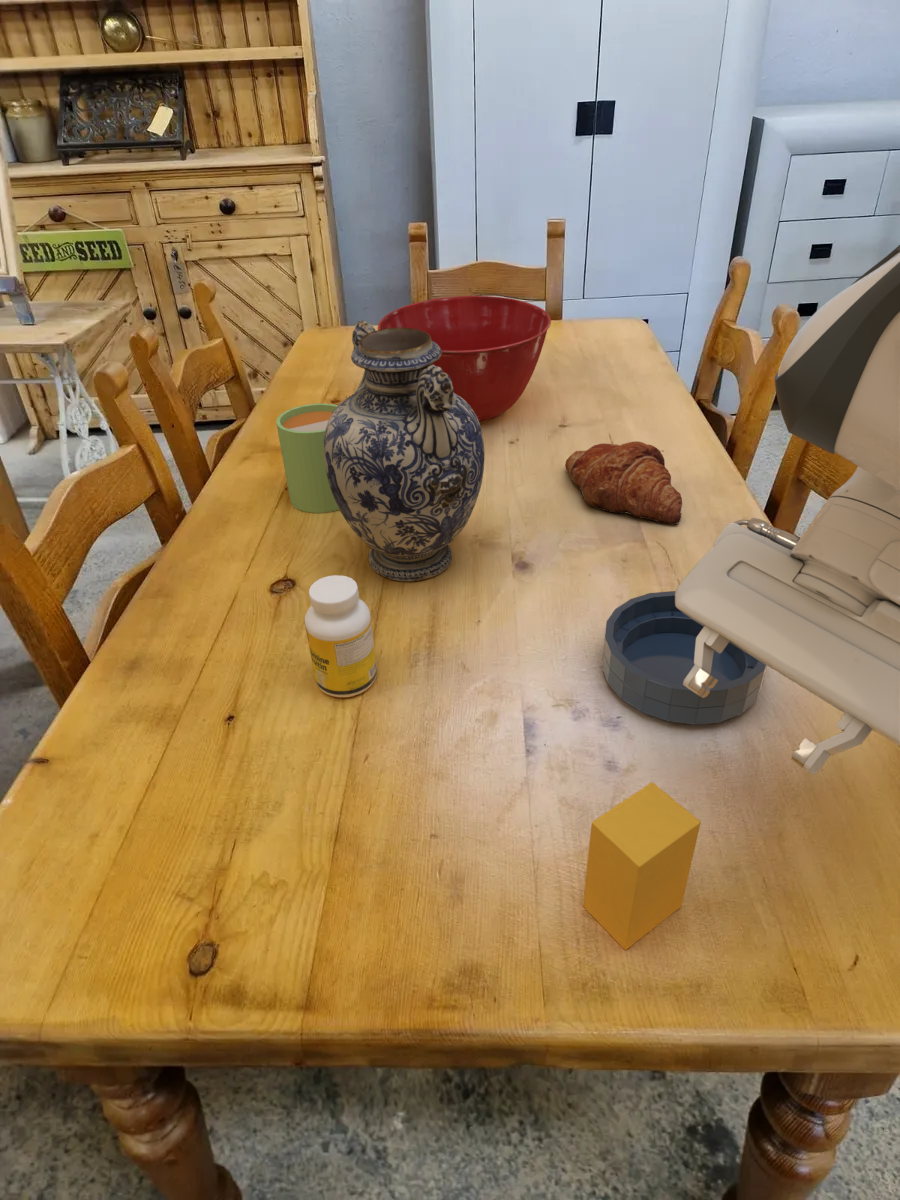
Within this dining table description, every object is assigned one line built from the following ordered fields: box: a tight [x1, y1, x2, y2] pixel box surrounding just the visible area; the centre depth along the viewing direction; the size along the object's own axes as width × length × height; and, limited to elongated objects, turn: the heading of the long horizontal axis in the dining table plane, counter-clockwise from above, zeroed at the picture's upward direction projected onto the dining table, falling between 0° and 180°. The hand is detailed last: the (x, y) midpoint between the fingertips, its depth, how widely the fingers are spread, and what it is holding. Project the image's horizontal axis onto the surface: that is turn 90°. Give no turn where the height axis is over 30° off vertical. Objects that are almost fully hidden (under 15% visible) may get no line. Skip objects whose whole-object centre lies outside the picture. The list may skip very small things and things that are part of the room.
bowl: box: [601, 590, 768, 726], centre depth 79 cm, size 16×16×5 cm
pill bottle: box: [304, 574, 378, 698], centre depth 79 cm, size 6×6×12 cm
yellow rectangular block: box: [582, 781, 702, 951], centre depth 57 cm, size 4×6×10 cm
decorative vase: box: [324, 320, 485, 582], centre depth 92 cm, size 21×19×28 cm
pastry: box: [564, 440, 683, 525], centre depth 109 cm, size 17×15×8 cm
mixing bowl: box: [377, 295, 552, 423], centre depth 135 cm, size 28×28×15 cm
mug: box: [275, 403, 340, 514], centre depth 112 cm, size 13×10×12 cm
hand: (744, 727), depth 57 cm, fingers open, 8 cm apart
